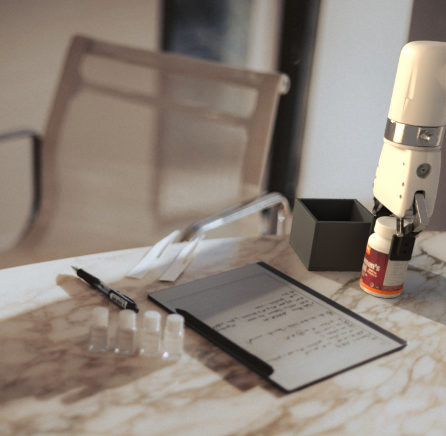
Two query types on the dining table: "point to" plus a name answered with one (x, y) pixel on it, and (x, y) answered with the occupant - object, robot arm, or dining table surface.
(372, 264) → the pill bottle
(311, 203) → the waste bin
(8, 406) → the dining table surface
